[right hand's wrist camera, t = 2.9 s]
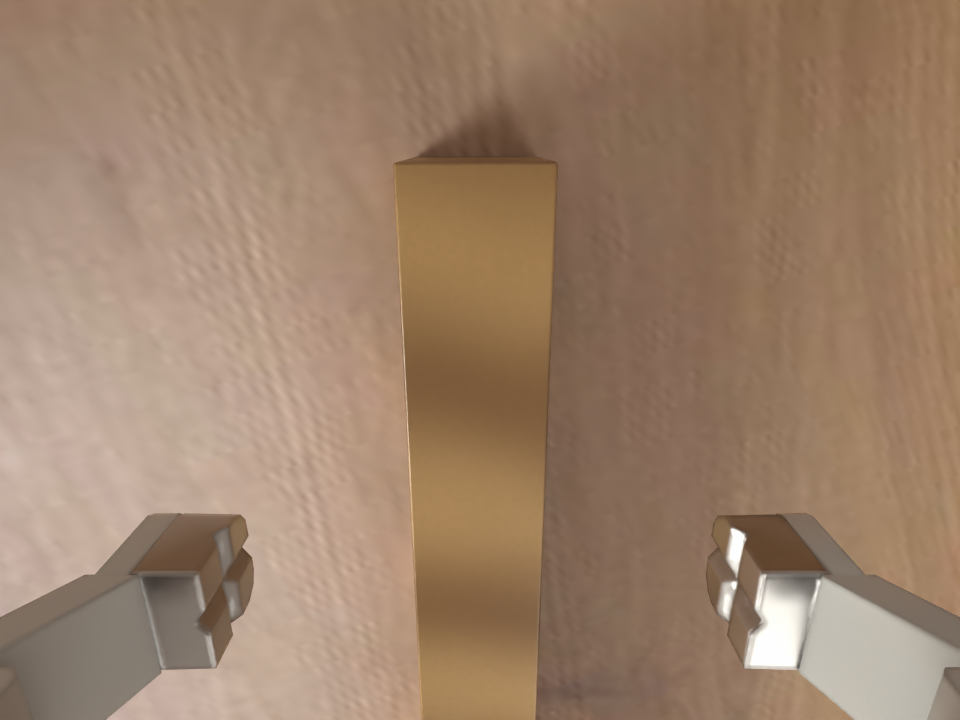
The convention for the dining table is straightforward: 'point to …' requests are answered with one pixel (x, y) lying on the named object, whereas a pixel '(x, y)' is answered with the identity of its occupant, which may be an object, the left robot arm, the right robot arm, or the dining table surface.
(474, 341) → the bar
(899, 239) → the dining table surface
